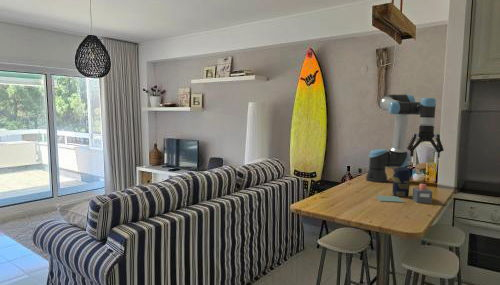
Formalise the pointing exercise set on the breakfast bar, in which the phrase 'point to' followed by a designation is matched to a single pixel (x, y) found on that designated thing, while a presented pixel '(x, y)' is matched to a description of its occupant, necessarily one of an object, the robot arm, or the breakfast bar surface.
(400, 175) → the canister
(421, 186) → the plunger
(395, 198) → the mat
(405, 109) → the robot arm
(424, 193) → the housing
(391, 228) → the breakfast bar surface
